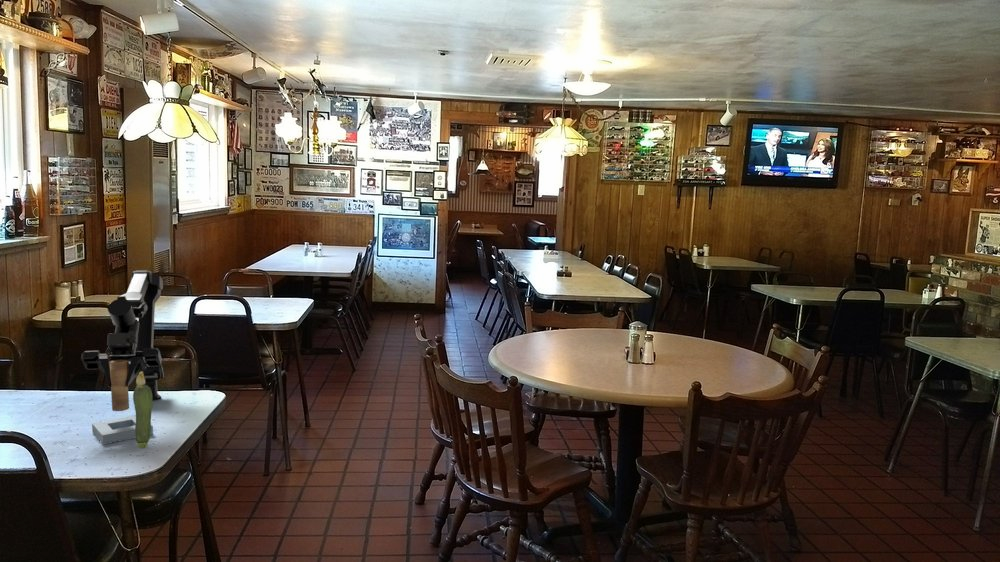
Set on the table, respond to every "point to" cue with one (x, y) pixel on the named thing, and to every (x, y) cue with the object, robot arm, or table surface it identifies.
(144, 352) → the robot arm
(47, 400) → the table surface
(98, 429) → the socket
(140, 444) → the vegetable
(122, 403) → the peg
